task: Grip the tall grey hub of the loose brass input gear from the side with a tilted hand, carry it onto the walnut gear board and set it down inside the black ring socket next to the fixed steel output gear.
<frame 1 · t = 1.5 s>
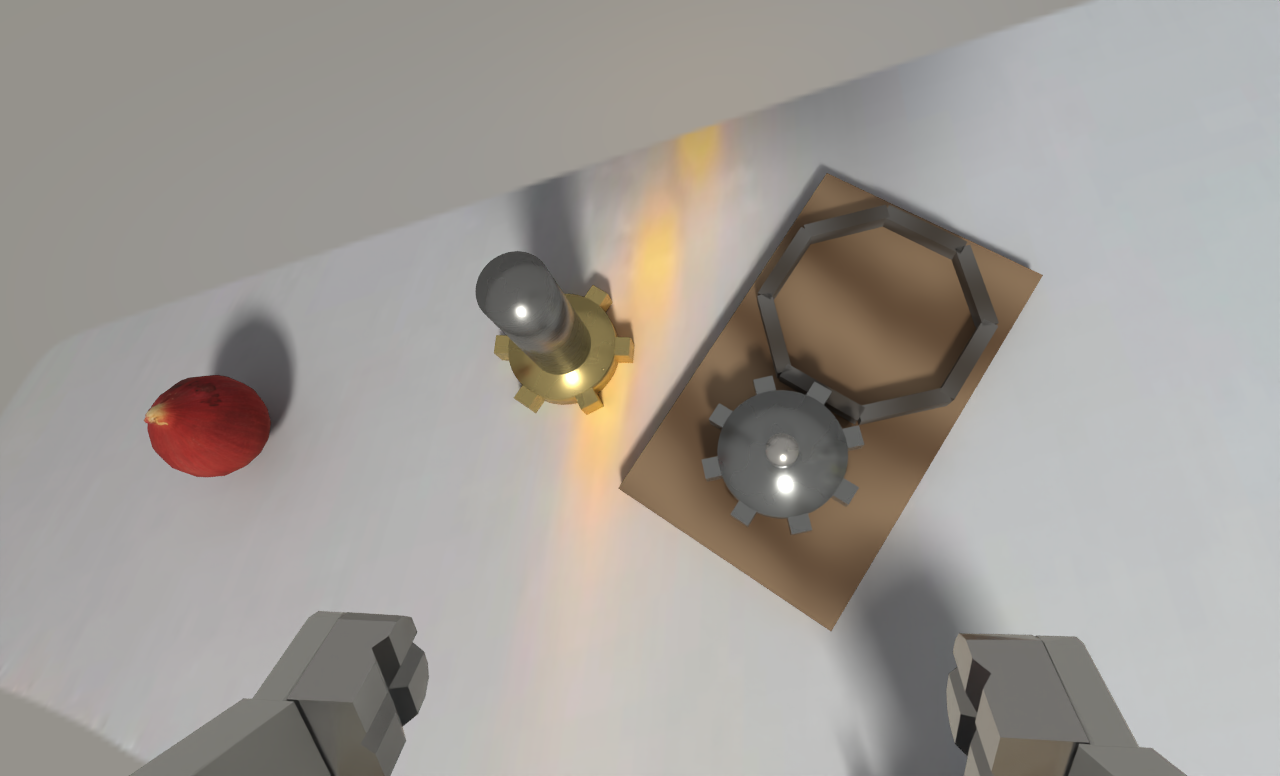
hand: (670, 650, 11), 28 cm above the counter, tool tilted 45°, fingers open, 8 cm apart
input gear: (567, 352, 42), on the counter
onion: (257, 438, 44), on the counter
gear board: (826, 388, 39), on the counter
output gear: (779, 463, 38), resting on gear board
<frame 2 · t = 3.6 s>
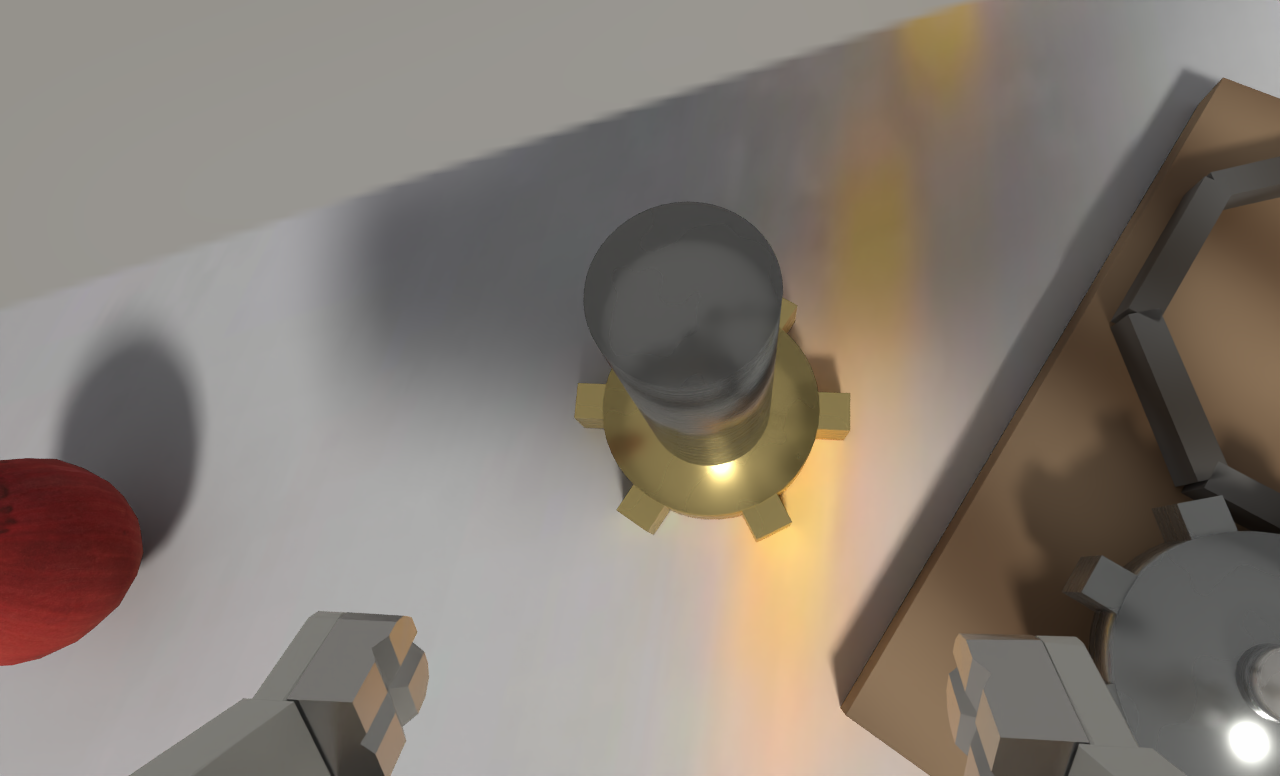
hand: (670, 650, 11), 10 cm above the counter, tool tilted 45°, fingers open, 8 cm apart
input gear: (711, 416, 22), on the counter
onion: (129, 562, 24), on the counter
gear board: (1263, 505, 19), on the counter
output gear: (1180, 664, 18), resting on gear board
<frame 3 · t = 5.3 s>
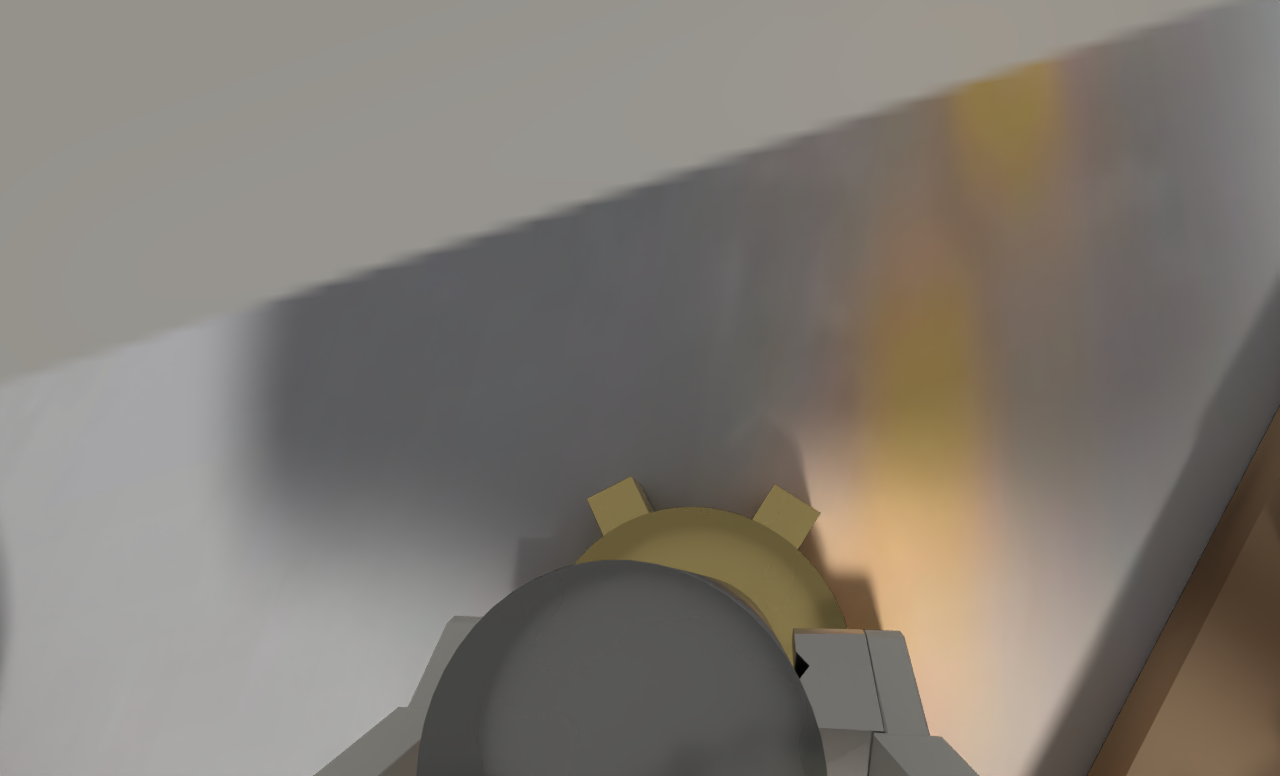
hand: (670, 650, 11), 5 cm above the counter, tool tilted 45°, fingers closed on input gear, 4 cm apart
input gear: (697, 659, 16), on the counter, touching gripper
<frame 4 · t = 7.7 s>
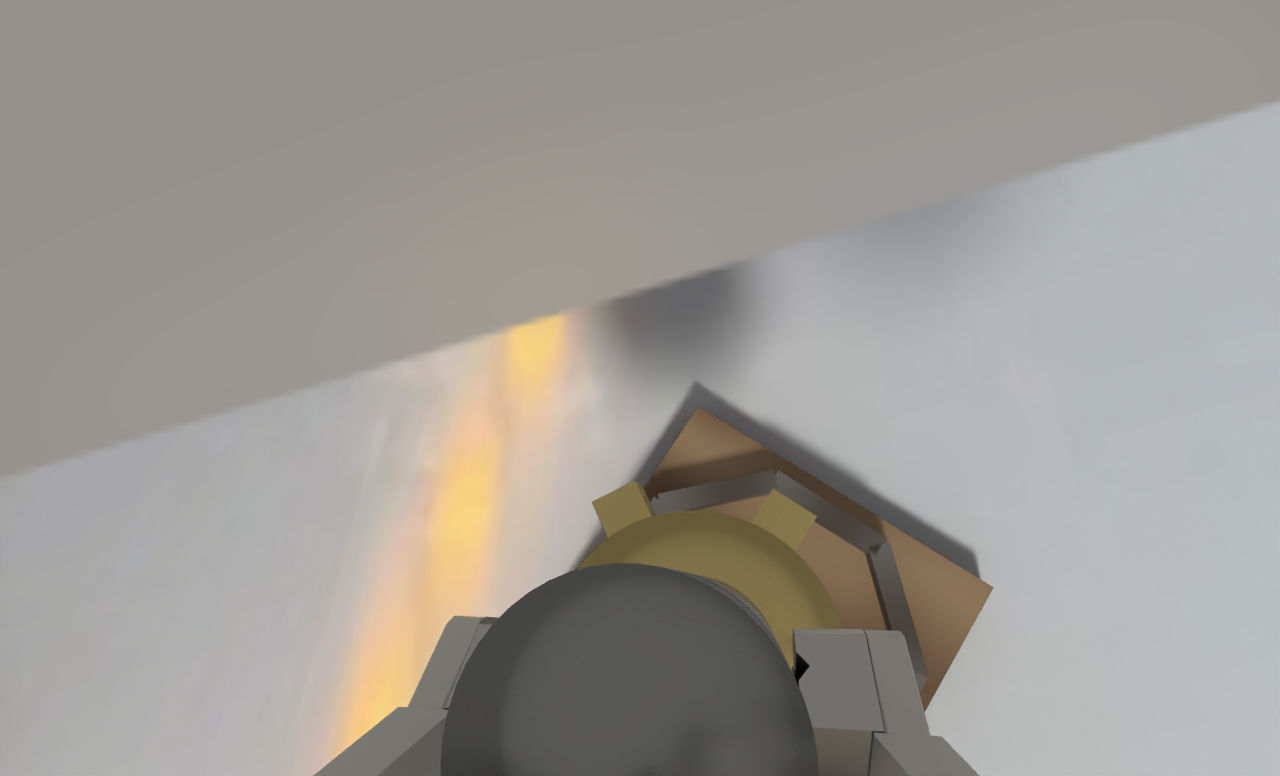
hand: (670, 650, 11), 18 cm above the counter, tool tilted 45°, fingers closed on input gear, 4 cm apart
input gear: (697, 657, 16), point 12 cm above the counter, touching gripper
gear board: (686, 734, 27), on the counter
when the fingers open (7 cm above the counter, at t = 10.5 s): input gear stays where it is, resting on gear board.
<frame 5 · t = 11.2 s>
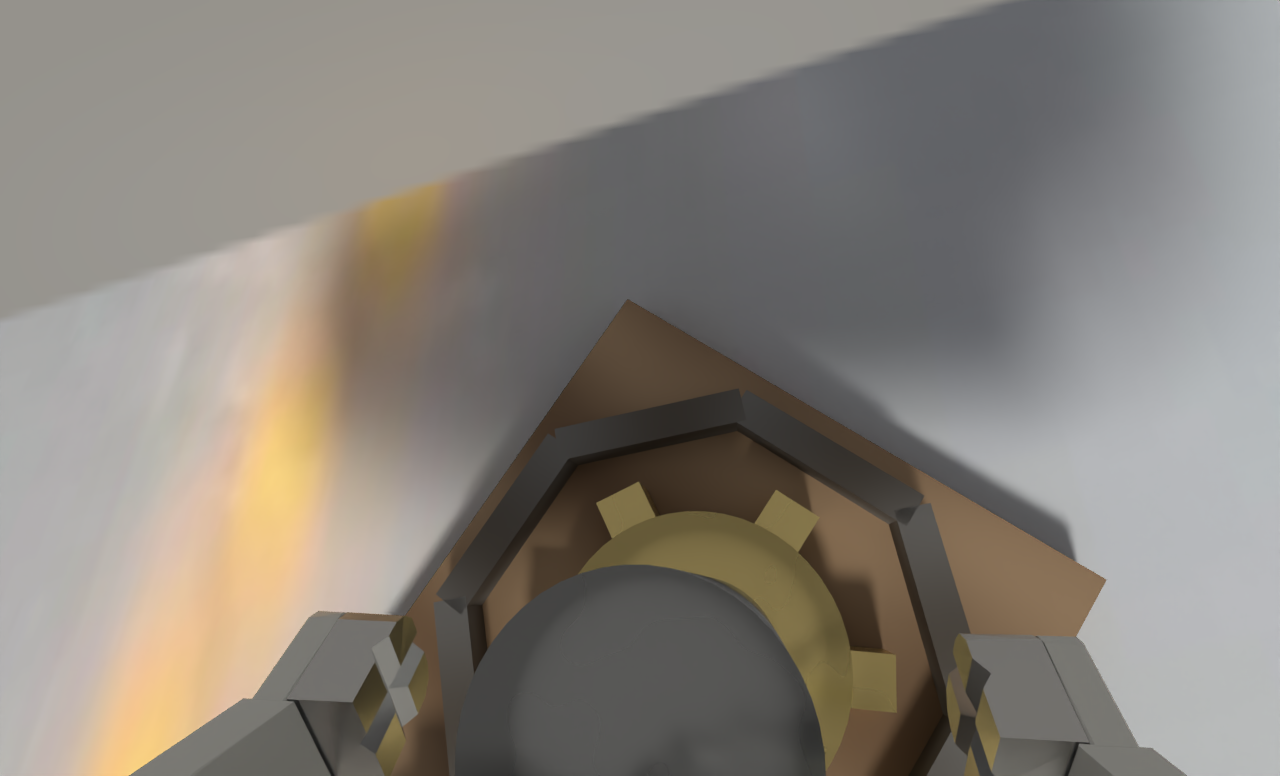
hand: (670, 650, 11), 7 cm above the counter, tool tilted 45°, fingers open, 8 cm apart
input gear: (701, 656, 16), point 1 cm above the counter, touching gear board
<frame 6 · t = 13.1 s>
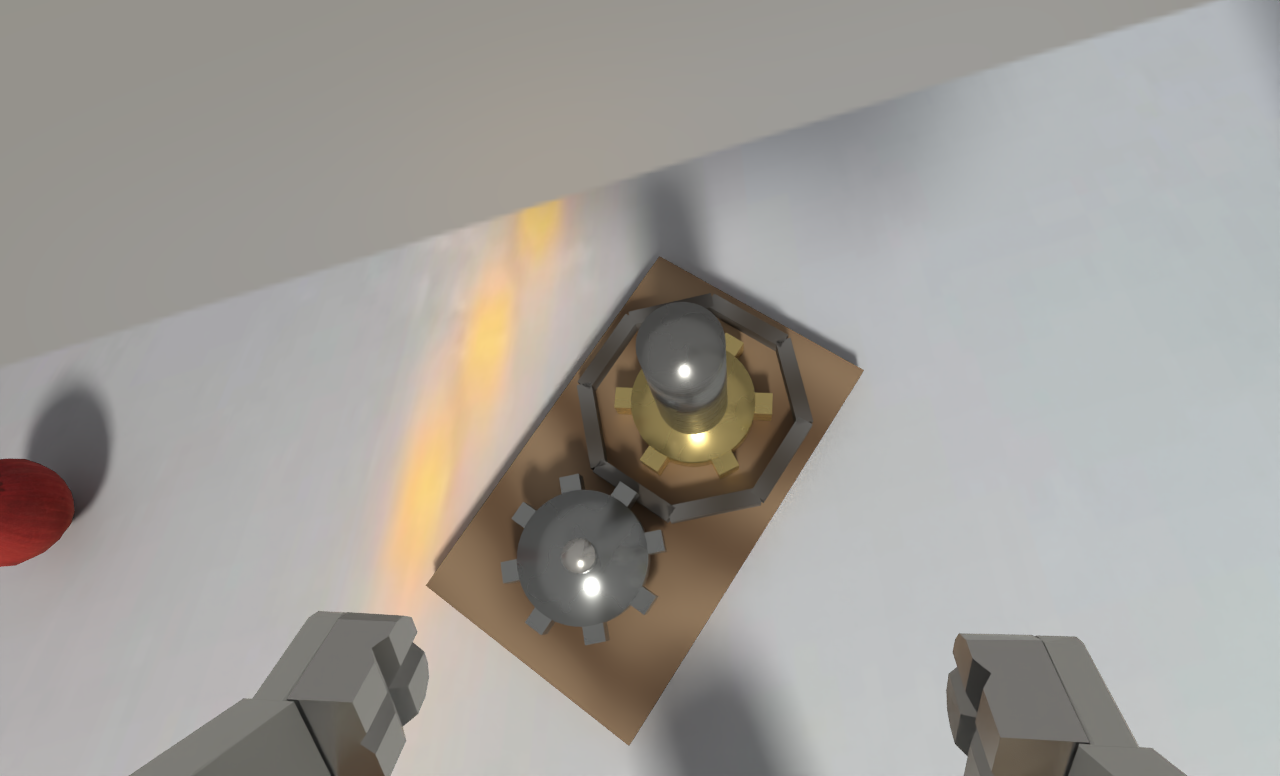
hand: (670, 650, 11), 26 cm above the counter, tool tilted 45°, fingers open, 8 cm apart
input gear: (694, 407, 37), point 1 cm above the counter, touching gear board
onion: (68, 519, 42), on the counter
gear board: (648, 481, 38), on the counter
output gear: (595, 560, 37), resting on gear board
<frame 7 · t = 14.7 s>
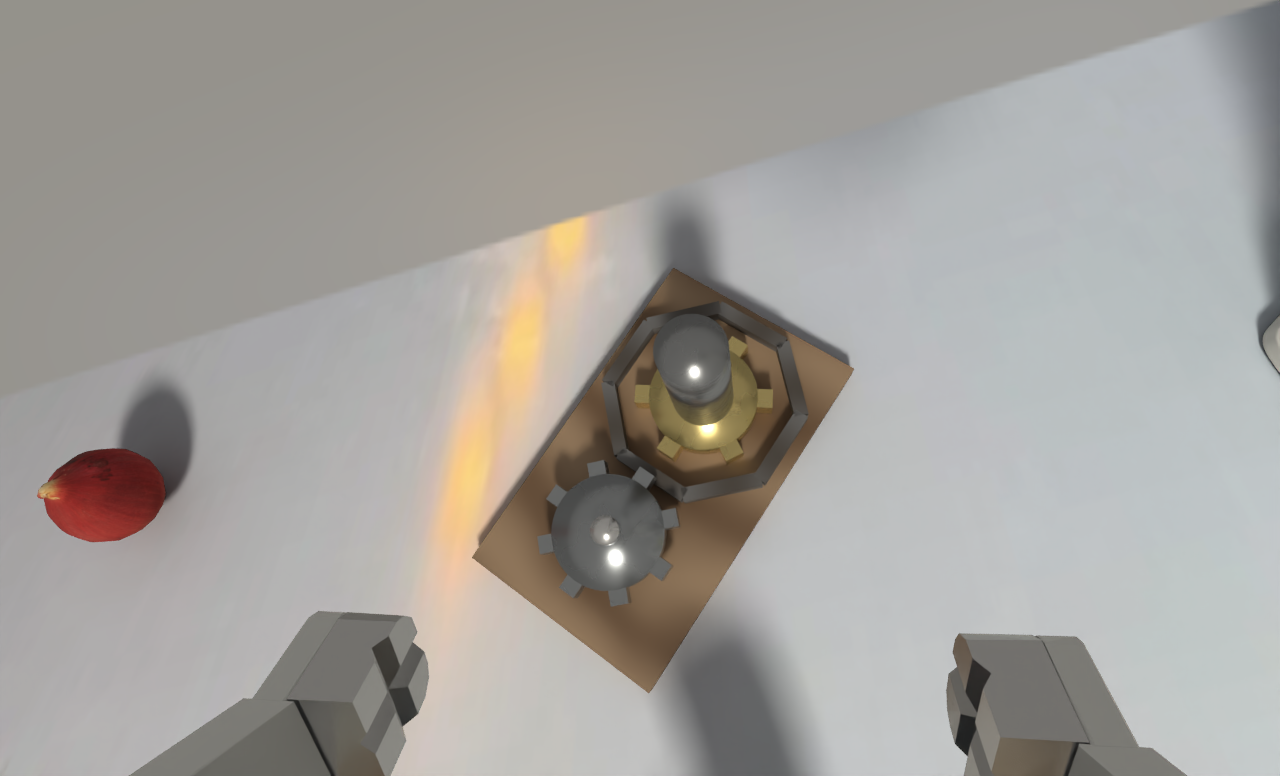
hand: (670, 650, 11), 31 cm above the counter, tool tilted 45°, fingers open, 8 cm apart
input gear: (704, 402, 43), point 1 cm above the counter, touching gear board
onion: (158, 501, 48), on the counter
gear board: (664, 466, 43), on the counter
output gear: (618, 535, 42), resting on gear board
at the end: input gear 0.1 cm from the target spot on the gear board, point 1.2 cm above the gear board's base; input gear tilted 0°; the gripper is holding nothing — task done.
